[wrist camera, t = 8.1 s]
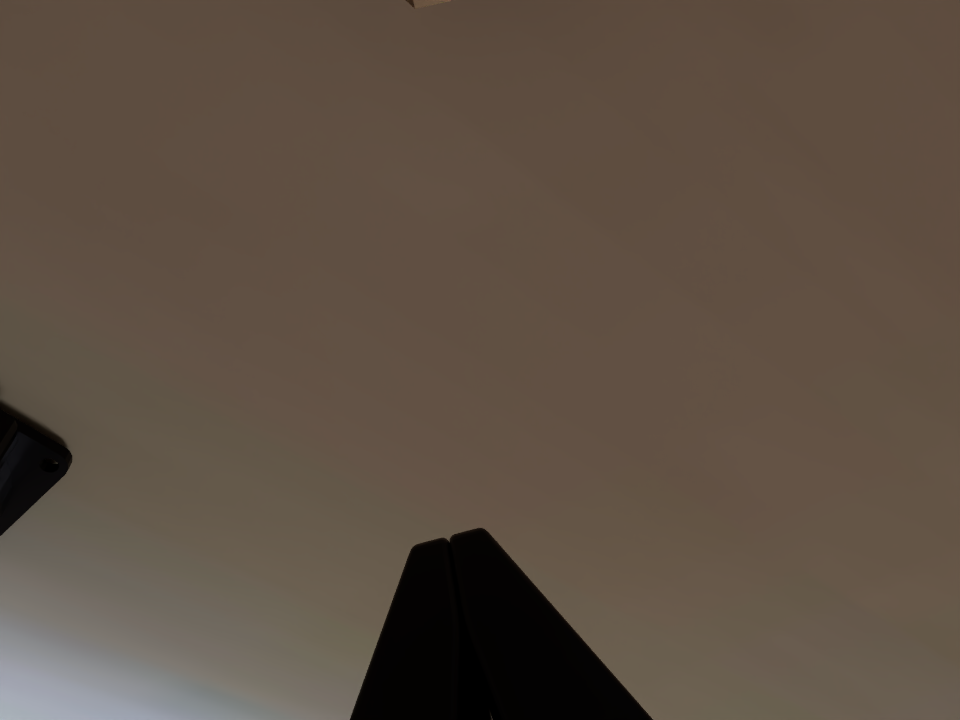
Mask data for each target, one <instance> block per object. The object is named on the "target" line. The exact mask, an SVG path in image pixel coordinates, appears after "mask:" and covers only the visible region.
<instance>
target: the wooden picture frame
mask: <svg viewBox="0 0 960 720" xmlns="http://www.w3.org/2000/svg"><path fill="white" fill-rule="evenodd" d="M406 1H407V2H408V3H409V4H410V5H411V6H412V7H414V8H415V9H417V8H421V7H426V6H430V5H435V4H439V3H444V2H448V1H452V0H406Z"/></svg>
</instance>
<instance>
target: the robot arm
mask: <svg viewBox="0 0 960 720" xmlns="http://www.w3.org/2000/svg"><path fill="white" fill-rule="evenodd" d="M47 458H50V459H53V460H55V461H56V462H57V463H58V464H52V463H49V462H47V461H46V460H45V459H47ZM71 463H72V455H71V453H70V451H69V450H68V449H67V448H65V447H64V446H62V445H61V444H59V443H57V442H56V441H54V440H52V439H50V438H49V437H47V436H45V435H44V434H42V433H40V432H39V431H37V430H35V429H33V428H32V427H30V426H28V425H27V424H25V423H23V422H21V421H20V420H18V419H16V418H15V417H13V416H11V415H10V414H8V413H6V412H4V411H3V410H1V409H0V536H1V535H2V534H3V533H4V532H5V531H6V530H7V529H8V528H9V527H10V526H11V525H12V524H14V523H15V522H16V521H17V520H18V519H19V518H20V517H21V516H22V515H23V514H24V513H25V512H26V511H27V510H28V509H29V508H30V507H31V506H32V505H34V504H35V503H36V502H37V501H38V500H39V499H40V498H41V497H42V496H43V495H44V494H45V493H46V492H47V491H48V490H49V489H50V488H51V487H52V486H53V485H55V484H56V483H57V482H58V481H59V480H60V479H61V478H62V477H63V476H64V475H65V474H66V472H67V471H68V469H69V467H70V465H71ZM491 716H492V717H491ZM492 719H493V720H653V719H652V718H651V717H650V716H649V715H648V713H647V712H646V711H645V710H644V709H643V708H642V707H641V705H640V704H639V703H638V702H637V701H636V700H635V699H634V697H633V696H632V695H631V694H630V693H629V692H628V691H627V689H626V688H625V687H624V686H623V685H622V684H621V683H620V682H619V680H618V679H617V678H616V677H615V676H614V675H613V674H612V672H611V671H610V670H609V669H608V668H607V667H606V666H605V664H604V663H603V662H602V661H601V660H600V659H599V658H598V656H597V655H596V654H595V653H594V652H593V651H592V650H591V648H590V647H589V646H588V645H587V644H586V643H585V642H584V641H583V639H582V638H581V637H580V636H579V635H578V634H577V633H576V631H575V630H574V629H573V628H572V627H571V626H570V625H569V623H568V622H567V621H566V620H565V619H564V618H563V617H562V615H561V614H560V613H559V612H558V611H557V610H556V609H555V608H554V606H553V605H552V604H551V603H550V602H549V601H548V600H547V598H546V597H545V596H544V595H543V594H542V593H541V592H540V590H539V589H538V588H537V587H536V586H535V585H534V584H533V582H532V581H531V580H530V579H529V578H528V577H527V576H526V574H525V573H524V572H523V571H522V570H521V569H520V568H519V567H518V565H517V564H516V563H515V562H514V561H513V560H512V559H511V557H510V556H509V555H508V554H507V553H506V552H505V551H504V549H503V548H502V547H501V546H500V545H499V544H498V543H497V541H496V540H495V539H494V538H493V537H492V536H491V535H490V534H489V532H488V531H486V530H485V529H483V528H477V529H473V530H469V531H465V532H461V533H458V534H454V535H452V536H451V538H450V543H449V541H448V540H447V539H446V538H439V539H435V540H431V541H427V542H424V543H420V544H417V545H415V546H414V547H413V548H412V549H411V551H410V553H409V556H408V559H407V561H406V564H405V567H404V570H403V572H402V575H401V578H400V581H399V584H398V586H397V589H396V592H395V595H394V598H393V600H392V603H391V606H390V609H389V612H388V614H387V617H386V620H385V623H384V626H383V628H382V631H381V634H380V637H379V640H378V642H377V645H376V648H375V651H374V654H373V656H372V659H371V662H370V665H369V667H368V670H367V673H366V676H365V679H364V681H363V684H362V687H361V690H360V693H359V695H358V698H357V701H356V704H355V707H354V709H353V712H352V715H351V718H350V720H492Z"/></svg>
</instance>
